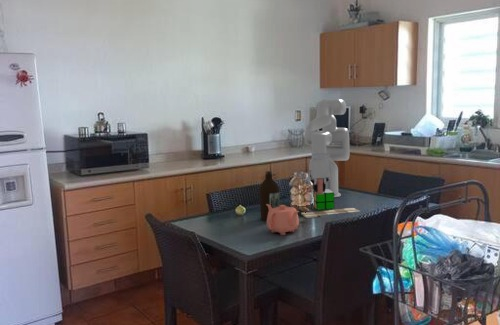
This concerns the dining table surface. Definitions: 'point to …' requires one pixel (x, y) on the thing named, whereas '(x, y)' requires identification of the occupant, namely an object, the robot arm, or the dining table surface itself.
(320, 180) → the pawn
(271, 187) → the olive oil
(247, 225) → the dining table surface
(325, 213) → the board
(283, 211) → the teapot
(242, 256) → the dining table surface
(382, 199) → the dining table surface
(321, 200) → the puzzle cube
